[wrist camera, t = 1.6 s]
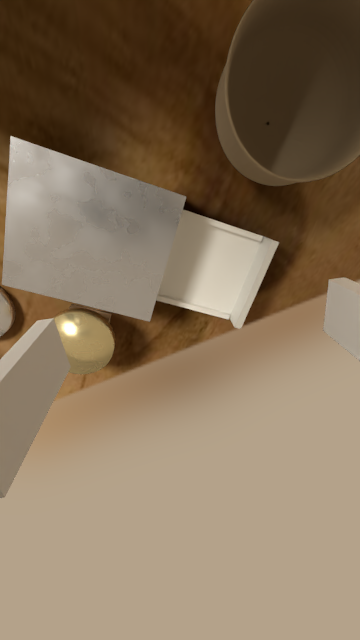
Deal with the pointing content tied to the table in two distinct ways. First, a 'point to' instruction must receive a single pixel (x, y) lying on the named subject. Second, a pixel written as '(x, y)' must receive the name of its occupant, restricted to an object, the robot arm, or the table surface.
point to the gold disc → (85, 339)
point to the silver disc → (6, 312)
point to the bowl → (292, 91)
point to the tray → (215, 268)
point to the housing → (86, 232)
